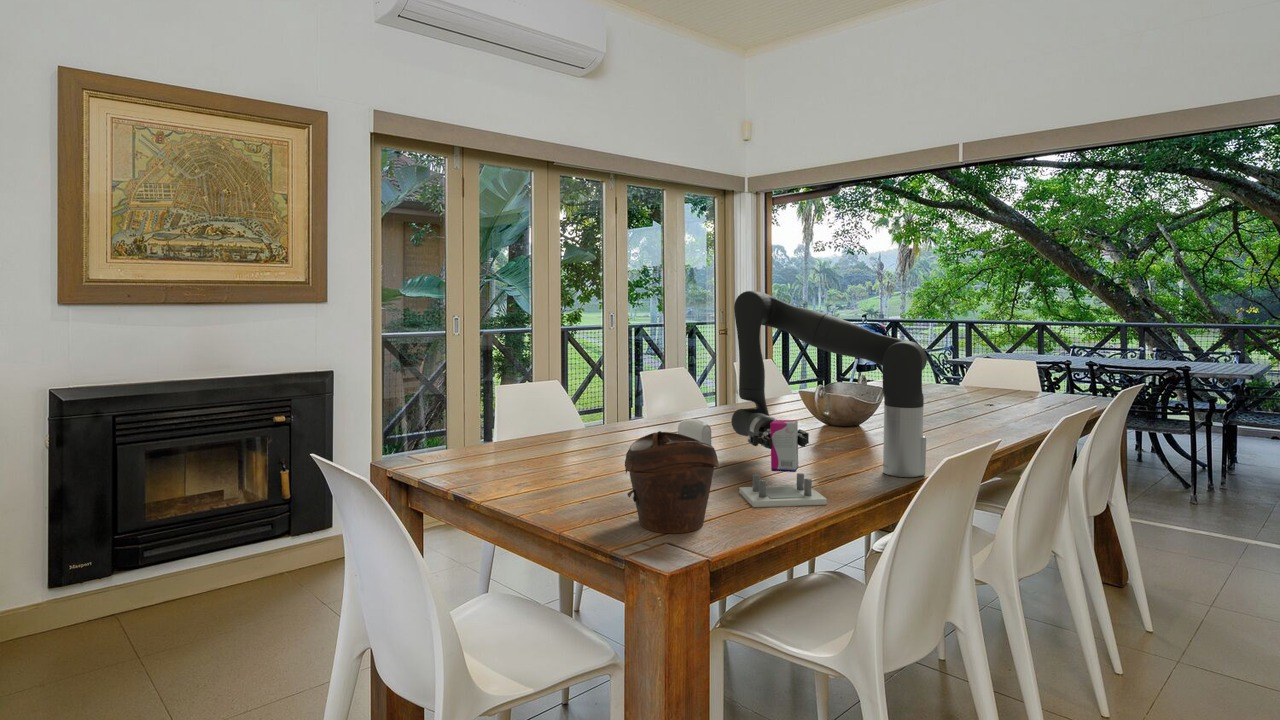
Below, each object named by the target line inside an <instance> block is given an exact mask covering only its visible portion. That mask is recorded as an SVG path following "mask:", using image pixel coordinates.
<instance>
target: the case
mask: <svg viewBox="0 0 1280 720" xmlns="http://www.w3.org/2000/svg"><path fill="white" fill-rule="evenodd" d="M624 467H625V474H627V473H628V472H629V477H630V483H631V487H632V489H631V490H630V491H628V493H627V497H628V498H631V496H632V495H633V496H632V500H633V502H634V504H635V507H636V511H637V516H638V517H637V518H638V520H639V523H640V526H641V527H642V528H645V530H648V531H652V532H653V533H661V534H682V533H683V534H684V533H689V532H690V533H691V532H693V531H696V530H698V529H700V528H701V527H702V526H703V525H704V523H705V517H706V512H707V508H708V502H709V497H710V492H711V488H712V482H713V475H714V470H715V468H718V469H720V465H719V461H718V454H717V452H716V450H715V448H714V447H713V445H712V444H711V445H708V444H706V443H703V442H701V441H699V440H696V439H694V438H691V437H688V436H685V435H682V434H678V432H677V433H676V432H672V431H671V432H668V431H661V430H658V431H657V432H652V433H649V434H646V435H644V436H641V437H640V438H638V439H637V440H635V441H634V442H632V444H631V445H630V446H629V448H628V450H627V451H626V454H625V460H624Z"/></svg>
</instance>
